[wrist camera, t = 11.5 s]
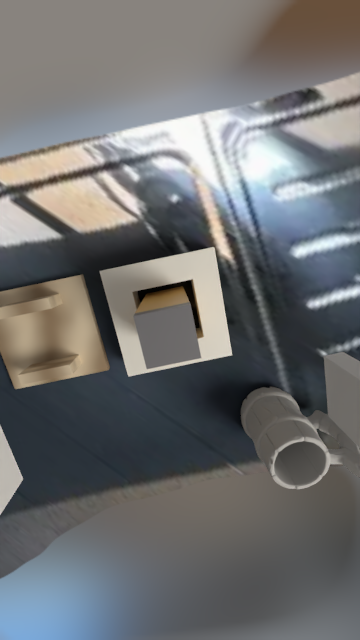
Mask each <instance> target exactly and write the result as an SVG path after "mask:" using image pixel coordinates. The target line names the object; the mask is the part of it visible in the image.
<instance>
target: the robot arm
mask: <svg viewBox="0 0 360 640" xmlns="http://www.w3.org/2000/svg"><path fill="white" fill-rule="evenodd" d="M324 365H325V378H326V391H327V404H328V416H329V417H330V418H331V419H332V420H333V421H334V422H335V424H336V425H337V426H338V427H339V428H340V429H341V430H342V431H343V432H344V433H345V434H346V435H347V436H348V437H349V438H350V439H351V440H352V441H353V442H354V443H355V444H356V445H357V446H358V447H359V448H360V361H358V360H356V359H354V358H353V357H351V356H349V355H347V354H345V353H344V352H341V353H336V354H331V355H327V356H324ZM22 480H23V477H22V475H21V473H20V470H19V468H18V466H17V463H16V461H15V459H14V456H13V454H12V451H11V449H10V447H9V444H8V442H7V440H6V437H5V435H4V433H3V430H2V428H1V426H0V515H1V513H2V511H3V510H4V508H5V507H6V505H7V504H8V502H9V501H10V499H11V497H12V496H13V494H14V493H15V491H16V490H17V488H18V487H19V485H20V483H21V482H22Z"/></svg>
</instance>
